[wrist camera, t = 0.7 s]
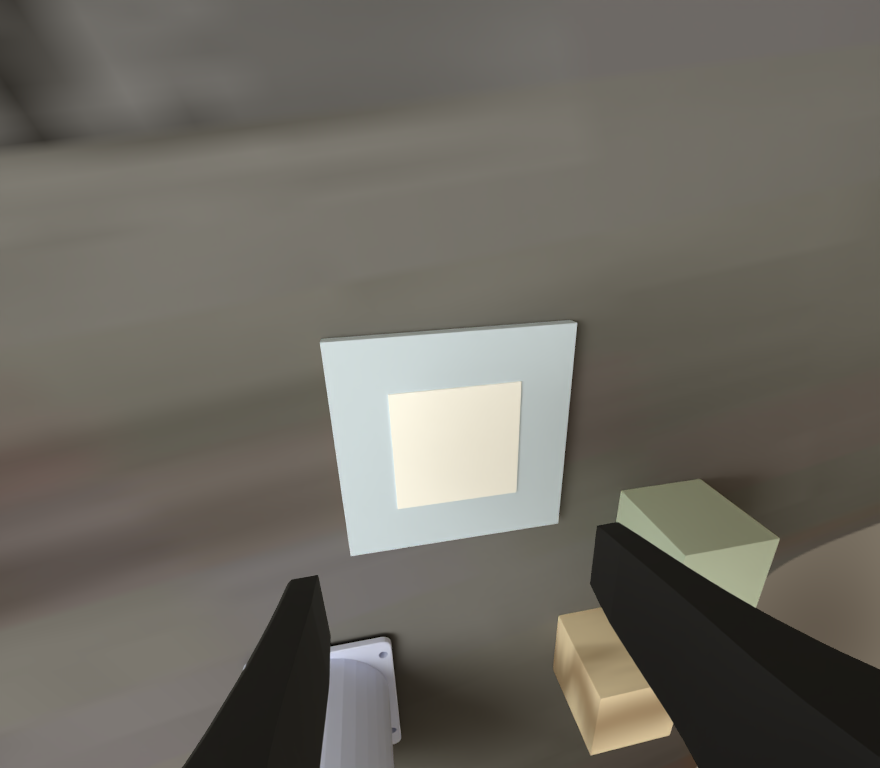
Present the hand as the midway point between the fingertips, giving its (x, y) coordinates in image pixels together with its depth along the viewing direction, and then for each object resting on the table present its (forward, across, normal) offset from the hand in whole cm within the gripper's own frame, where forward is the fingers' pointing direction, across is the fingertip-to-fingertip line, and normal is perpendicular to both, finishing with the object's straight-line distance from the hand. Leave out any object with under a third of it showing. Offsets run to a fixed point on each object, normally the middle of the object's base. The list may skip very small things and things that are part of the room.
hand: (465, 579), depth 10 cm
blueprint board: (+9, -2, +1) cm, 10 cm away
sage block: (+10, -14, +8) cm, 19 cm away
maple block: (+10, -10, +18) cm, 23 cm away
